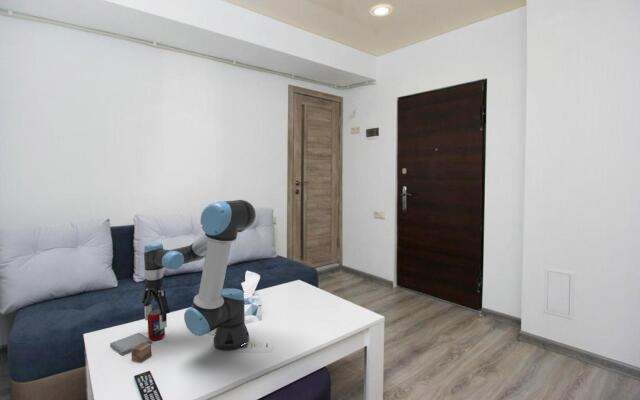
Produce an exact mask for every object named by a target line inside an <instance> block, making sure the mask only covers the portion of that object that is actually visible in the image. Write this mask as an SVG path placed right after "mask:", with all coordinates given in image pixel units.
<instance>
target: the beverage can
mask: <svg viewBox="0 0 640 400" xmlns="http://www.w3.org/2000/svg"><path fill="white" fill-rule="evenodd" d="M151 310H152V311H150V312H149V315H148V320H147V335H148V336H147V338H149V339H151V340H152V341H157V340H158V341H159V340H160V339H162V338H163V337H165V335H166V329H165V328H163V329H160V315H159V314H160V311H159V308H157V309H151Z"/></svg>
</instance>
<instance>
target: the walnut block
mask: <svg viewBox="0 0 640 400" xmlns="http://www.w3.org/2000/svg"><path fill="white" fill-rule="evenodd" d="M152 351H153V350H152V344H148V343H143V342H141V343H139V344H138V345H136V346H134V347H133V348H131V352H130V353H131V354H130V355H131V361H134V362H138V363H143V362H145V361H146V360H147V359H149V358H150V357H152V356H153V355H152V353H153V352H152Z"/></svg>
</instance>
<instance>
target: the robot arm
mask: <svg viewBox="0 0 640 400" xmlns="http://www.w3.org/2000/svg"><path fill="white" fill-rule="evenodd" d="M256 213H257V212H256V209H255V207H254V206H253V204H251V203H250V202H249V201H247V200H244V199H237V200H226V201H225V200H224V201H221V200H219V201H216V202H211V203H209V204H208V205H206V206H205V207H204V209H203V210H202V212H201V214H200V225H201V229H202V230H203V232H204V234H203V235H201V236H200V237H199V238H198V239H196V240H195V241H194V242H192V243H191V244H189V245H188V246H187V245H186V246H182V247H178V248H173V249H165V248H164V245H163V243H162V242H148V243H146V244H144V248H143V261H144V263H143V264H144V270H143V271H144V279H145V280H144V291H143V295H142V299H141V304H143V306H144V321H148V315H149V312H150V311H152V310H153V309H152V301H153V300H154V302H155V303H156V306H157V307H158V308H157V309H159V311H160V314H159V315H160V329H163V328H167V327H168V323H167V322H168V321H167V316H168V314H170V308H169V305H168V300H167V296H166V290H162V287H164V285H165V279H164V271H165V269H168V270H178V269H180V268H181V267H182V266H183V265H185V264H189V263H193V262H198V261H201V260H203V259H204V262H203V267H202V273H201V280H200V284H199V285H200V286H199V290H198V294H196V295H195V296H194V297H193V302H192V306H191V307H189V308H187V309H186V310H185V312H184V313H183V314H184V315H183V319H184V324H185V326H186V328H187V330H188V331H189V332H190V333H191V334H192V335H194V336H197V337H202V336H205V335H207V334H209V333H211V332H212V331H214V330H215V331H214V332H215V334H214V336H213V339H212V340H213V341H212V343H213V347H214V348H216V349H218V350H219V351H220V350H222V351H233V350H237V349H240V347H241V345H242V344H244V343H247V342H248V343H249V341H250V335H249V330H248V327H247V325H246V321H245V319H246V318H245V317H246V315H245V311H246V310H245V294H244V291H243V290H242V289H238V288H232V287H231V288H224V282H225V277H226V273H227V267H228V262H229V257H230V253H231V248H232V243H233V242H234V241H236V240H237V236H238V233H243V232H244V231H245V230H246V229H248V228H250V227H252V225H253V224H254V222H255V221H256V218H257V217H256V216H257V214H256ZM248 343H247V344H248ZM241 348H242V347H241Z"/></svg>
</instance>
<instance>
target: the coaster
mask: <svg viewBox="0 0 640 400" xmlns="http://www.w3.org/2000/svg"><path fill="white" fill-rule="evenodd" d="M141 342H143V343H148V344H151V345H153V340H151V339H149V338H148V336H146V335H144V334H142V333H141V332H137V333H135V334H132V335H130V336H126V337H123V338H121V339H118V340H115V341H112V342H110V343H109V345H110V346H109V347H110V348H111V349H113V350H115V352H116V353H118V354H119V355H121V356H125V355H128V354H130V353H131V348H133V347H134V346H136V345H138V344H139V343H141Z"/></svg>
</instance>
